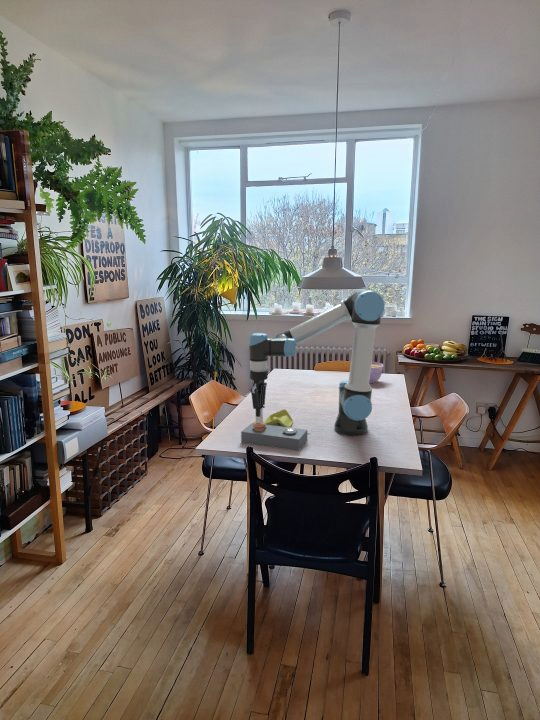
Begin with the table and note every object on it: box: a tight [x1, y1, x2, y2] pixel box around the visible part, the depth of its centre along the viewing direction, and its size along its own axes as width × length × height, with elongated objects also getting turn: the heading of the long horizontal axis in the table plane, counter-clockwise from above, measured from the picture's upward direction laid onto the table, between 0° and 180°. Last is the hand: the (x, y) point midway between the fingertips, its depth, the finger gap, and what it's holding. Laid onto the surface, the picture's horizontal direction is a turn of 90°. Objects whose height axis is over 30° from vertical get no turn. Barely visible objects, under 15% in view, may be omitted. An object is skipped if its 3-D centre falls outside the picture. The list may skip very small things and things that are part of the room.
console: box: [240, 422, 308, 452], centre depth 200 cm, size 26×12×5 cm, turn 69°
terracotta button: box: [252, 421, 266, 431], centre depth 202 cm, size 6×6×6 cm
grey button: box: [283, 427, 296, 435], centre depth 197 cm, size 6×6×6 cm
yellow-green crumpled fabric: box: [263, 408, 294, 428], centre depth 218 cm, size 20×7×10 cm
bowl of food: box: [369, 361, 385, 384], centre depth 301 cm, size 20×20×12 cm
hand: (259, 422), depth 201 cm, fingers closed
